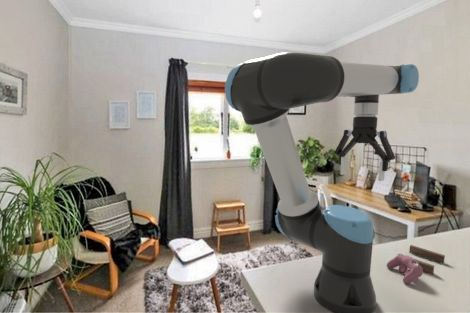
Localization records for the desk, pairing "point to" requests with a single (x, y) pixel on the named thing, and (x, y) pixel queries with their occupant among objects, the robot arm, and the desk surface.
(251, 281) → the desk surface
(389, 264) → the video game controller
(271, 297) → the desk surface
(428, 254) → the dock
